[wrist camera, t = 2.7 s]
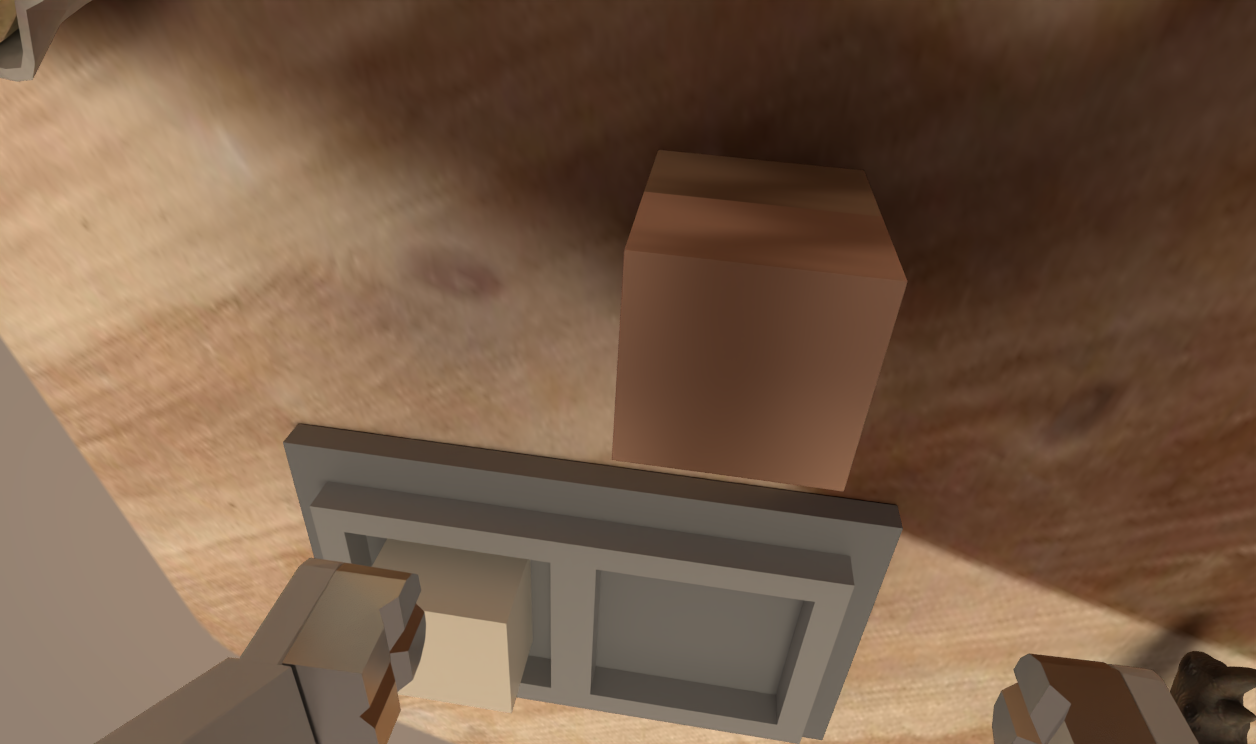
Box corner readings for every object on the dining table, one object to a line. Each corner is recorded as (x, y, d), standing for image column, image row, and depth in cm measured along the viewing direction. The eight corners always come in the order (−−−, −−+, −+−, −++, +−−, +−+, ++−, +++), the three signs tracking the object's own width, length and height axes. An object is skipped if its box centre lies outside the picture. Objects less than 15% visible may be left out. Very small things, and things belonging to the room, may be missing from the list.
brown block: (863, 169, 18) (907, 281, 13) (821, 344, 21) (843, 491, 16) (658, 148, 18) (624, 249, 13) (644, 323, 21) (611, 459, 16)
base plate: (897, 505, 23) (921, 608, 20) (820, 716, 30) (828, 819, 27) (298, 423, 25) (229, 506, 22) (353, 641, 32) (307, 729, 28)
